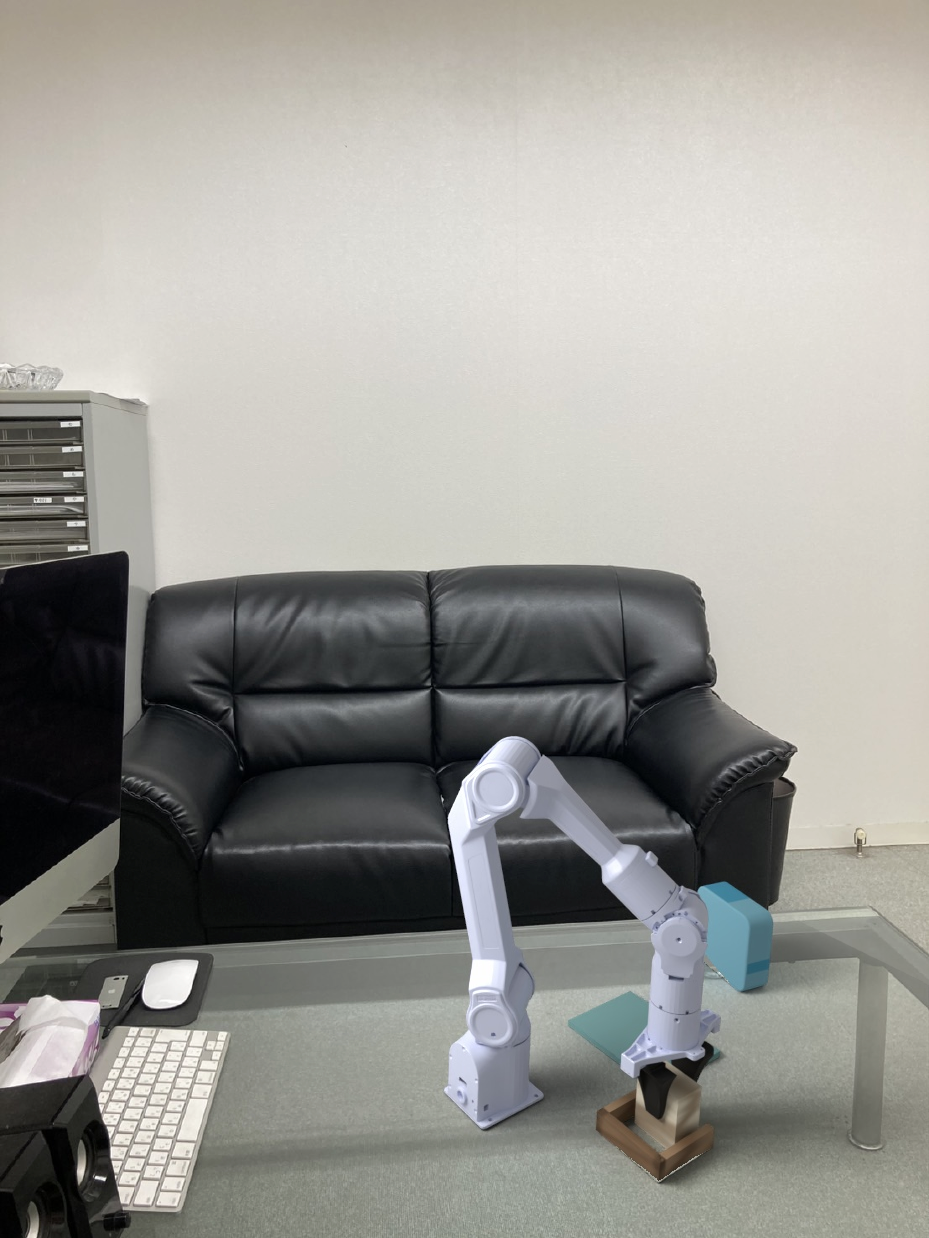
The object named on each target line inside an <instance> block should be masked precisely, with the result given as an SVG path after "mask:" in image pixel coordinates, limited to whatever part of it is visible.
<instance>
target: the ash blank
mask: <svg viewBox="0 0 929 1238" xmlns="http://www.w3.org/2000/svg"><path fill="white" fill-rule="evenodd" d="M663 1062H665V1063H666V1068H668V1069H669V1070H670V1071H672V1072H673V1073H675V1074H676V1075H677V1076H676V1078H675V1079H674V1080H673V1082H672V1084H671V1086H670V1089H669V1092H668V1096H667V1102H666V1108H665V1112H664V1115H663V1117H662V1118H661V1119H659V1120H657V1119H656V1118H655V1117H654V1116H652V1115H651V1114H650V1113H648V1112H647V1111H646V1109H645V1104H644V1099H643V1094H642V1090H641V1087H640V1083H639V1081H638V1078H636V1079H637V1080H636V1089H637V1093H636V1108H635V1116H634V1124H635V1125H636V1126H637V1127H638V1128H639V1129H641V1130H642V1131H644V1132H645V1133H646V1134H647V1135H648V1136H650V1137H651V1138H652V1139H653V1140H655V1142H657V1143H658V1144H659V1145H661V1146H662V1147H663V1148H664V1149H665V1150H666V1149H668V1148H669V1147H671V1146H672V1145H674V1144H675V1143H677V1142H679V1141H680V1140H682V1139H683V1138H685V1137H686V1136H688V1135H690V1134H691V1133H693V1132H694V1131H696V1130H697V1129H699V1128H700V1127H699V1126H700V1125H699V1124H700V1114H701V1113H700V1112H701V1100H702V1088H703V1087H702V1085H701V1084H700V1083H698V1081H697V1082H695V1081H694V1080H692V1079H691V1078H690V1077H688V1076H687V1075H685V1074H684V1073H683V1072H681V1071H680V1070H678V1069H677V1068H676V1067H674V1066H673V1065H671V1064H670V1063H669V1062H667V1061H663Z"/></svg>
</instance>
